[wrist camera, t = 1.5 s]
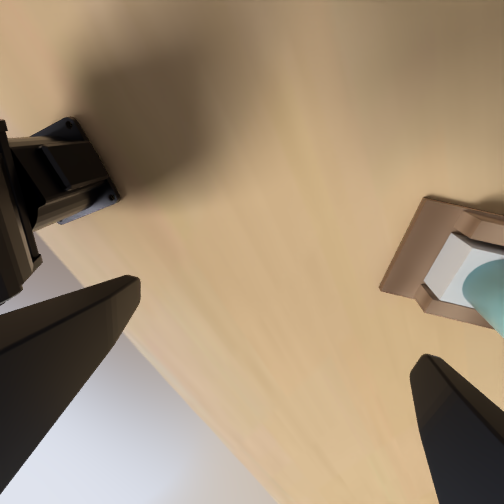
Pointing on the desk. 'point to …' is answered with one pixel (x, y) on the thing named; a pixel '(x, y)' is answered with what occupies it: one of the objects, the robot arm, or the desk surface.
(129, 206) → the desk surface
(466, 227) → the mount
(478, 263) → the knob
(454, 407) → the robot arm
